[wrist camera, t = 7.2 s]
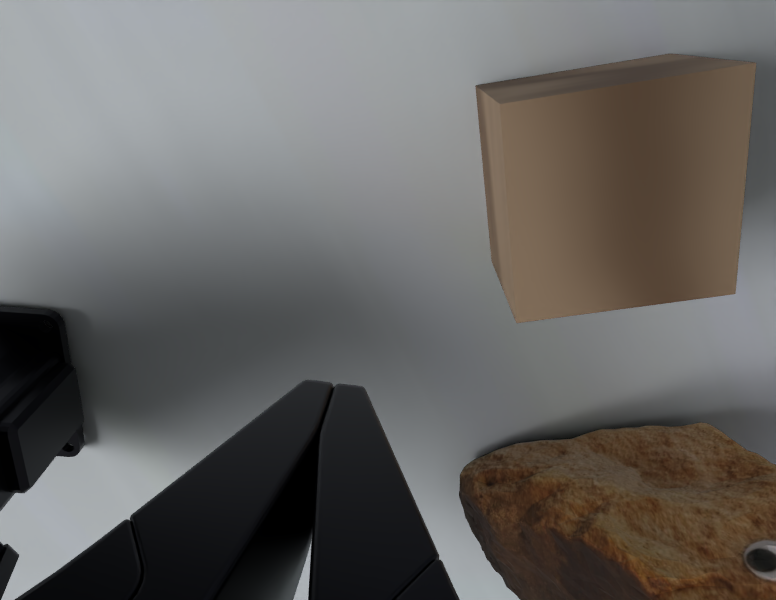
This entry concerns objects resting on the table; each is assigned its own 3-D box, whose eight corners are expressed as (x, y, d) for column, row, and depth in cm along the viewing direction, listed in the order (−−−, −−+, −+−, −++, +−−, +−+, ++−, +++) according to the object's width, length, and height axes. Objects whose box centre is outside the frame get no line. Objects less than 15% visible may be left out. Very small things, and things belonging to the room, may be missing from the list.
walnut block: (491, 260, 22) (516, 323, 17) (474, 85, 19) (499, 104, 15) (662, 235, 21) (735, 294, 17) (668, 53, 19) (755, 62, 14)
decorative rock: (746, 366, 23) (1004, 617, 13) (753, 483, 26) (975, 769, 16) (445, 436, 25) (478, 707, 15) (478, 540, 27) (525, 832, 17)
